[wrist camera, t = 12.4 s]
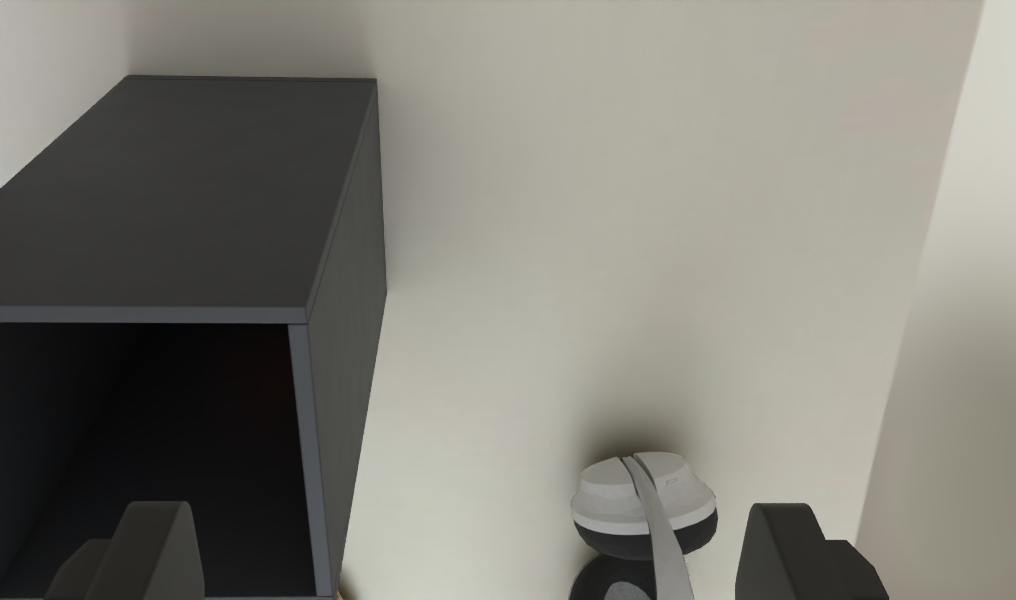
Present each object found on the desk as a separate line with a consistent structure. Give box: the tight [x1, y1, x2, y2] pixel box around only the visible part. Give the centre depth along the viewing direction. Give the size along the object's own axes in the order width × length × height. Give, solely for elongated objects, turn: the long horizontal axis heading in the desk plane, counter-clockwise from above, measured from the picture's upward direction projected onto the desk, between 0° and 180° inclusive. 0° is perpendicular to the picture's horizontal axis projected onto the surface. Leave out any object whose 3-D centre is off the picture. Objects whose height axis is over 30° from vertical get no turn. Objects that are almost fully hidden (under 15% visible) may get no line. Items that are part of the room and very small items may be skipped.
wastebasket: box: [0, 75, 387, 600], centre depth 40 cm, size 12×12×23 cm
